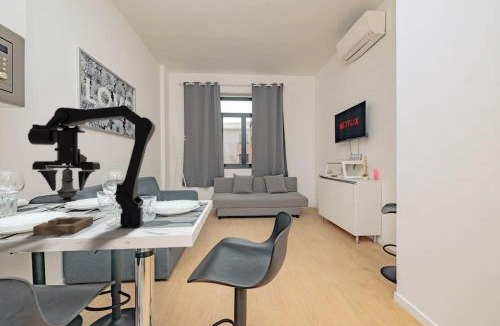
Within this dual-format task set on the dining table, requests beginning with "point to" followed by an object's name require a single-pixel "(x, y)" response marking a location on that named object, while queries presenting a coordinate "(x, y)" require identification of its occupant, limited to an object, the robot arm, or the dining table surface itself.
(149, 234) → the dining table surface
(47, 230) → the wooden tray
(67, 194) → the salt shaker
